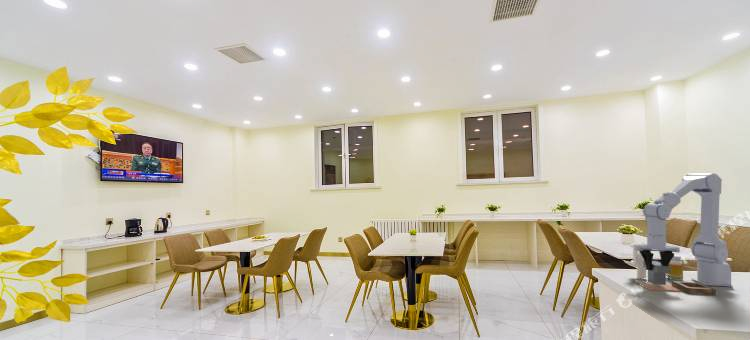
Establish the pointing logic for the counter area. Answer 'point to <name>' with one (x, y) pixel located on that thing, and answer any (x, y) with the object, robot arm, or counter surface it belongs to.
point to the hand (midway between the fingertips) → (656, 270)
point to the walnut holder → (694, 288)
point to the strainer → (639, 262)
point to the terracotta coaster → (657, 286)
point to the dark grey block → (658, 273)
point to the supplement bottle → (676, 268)
